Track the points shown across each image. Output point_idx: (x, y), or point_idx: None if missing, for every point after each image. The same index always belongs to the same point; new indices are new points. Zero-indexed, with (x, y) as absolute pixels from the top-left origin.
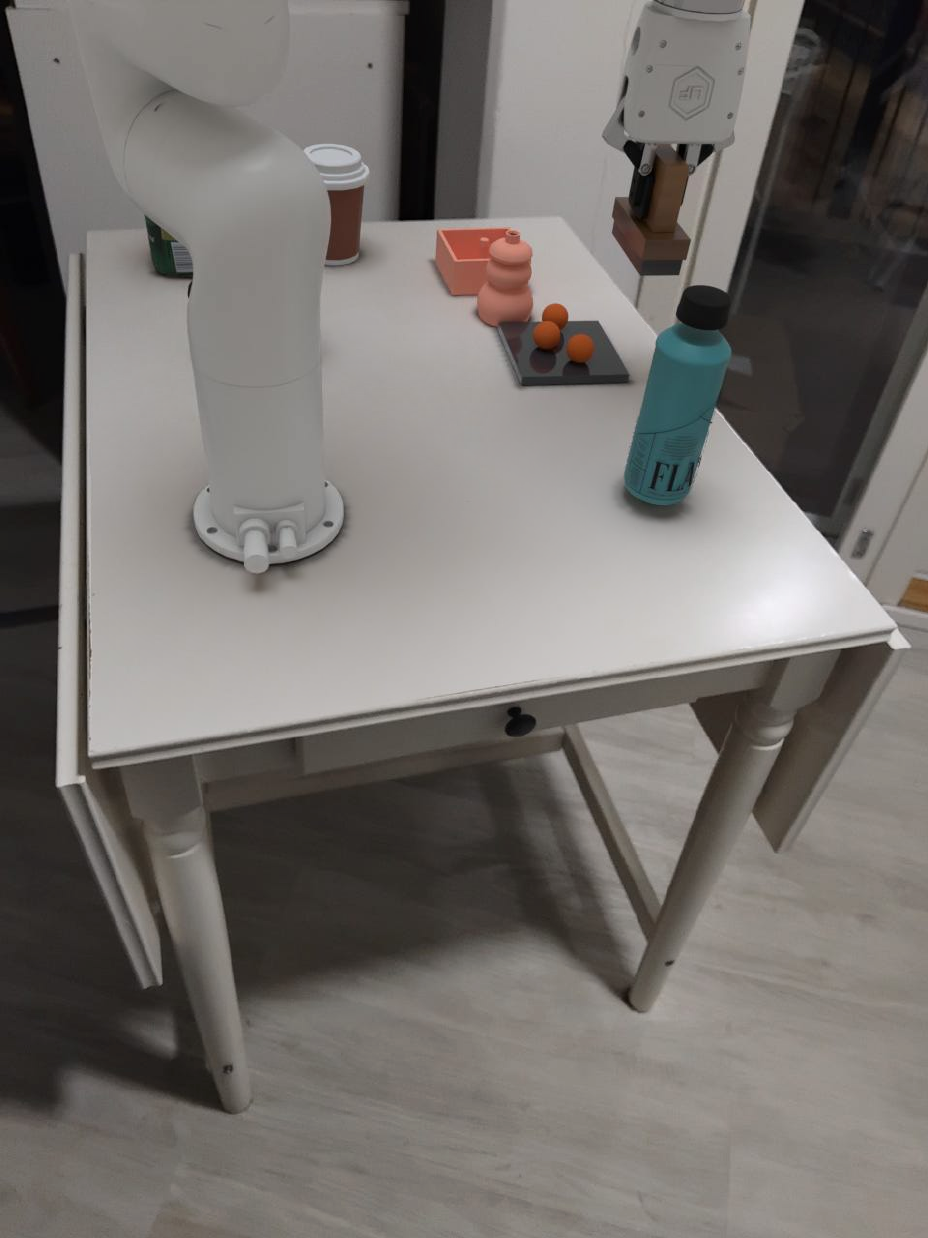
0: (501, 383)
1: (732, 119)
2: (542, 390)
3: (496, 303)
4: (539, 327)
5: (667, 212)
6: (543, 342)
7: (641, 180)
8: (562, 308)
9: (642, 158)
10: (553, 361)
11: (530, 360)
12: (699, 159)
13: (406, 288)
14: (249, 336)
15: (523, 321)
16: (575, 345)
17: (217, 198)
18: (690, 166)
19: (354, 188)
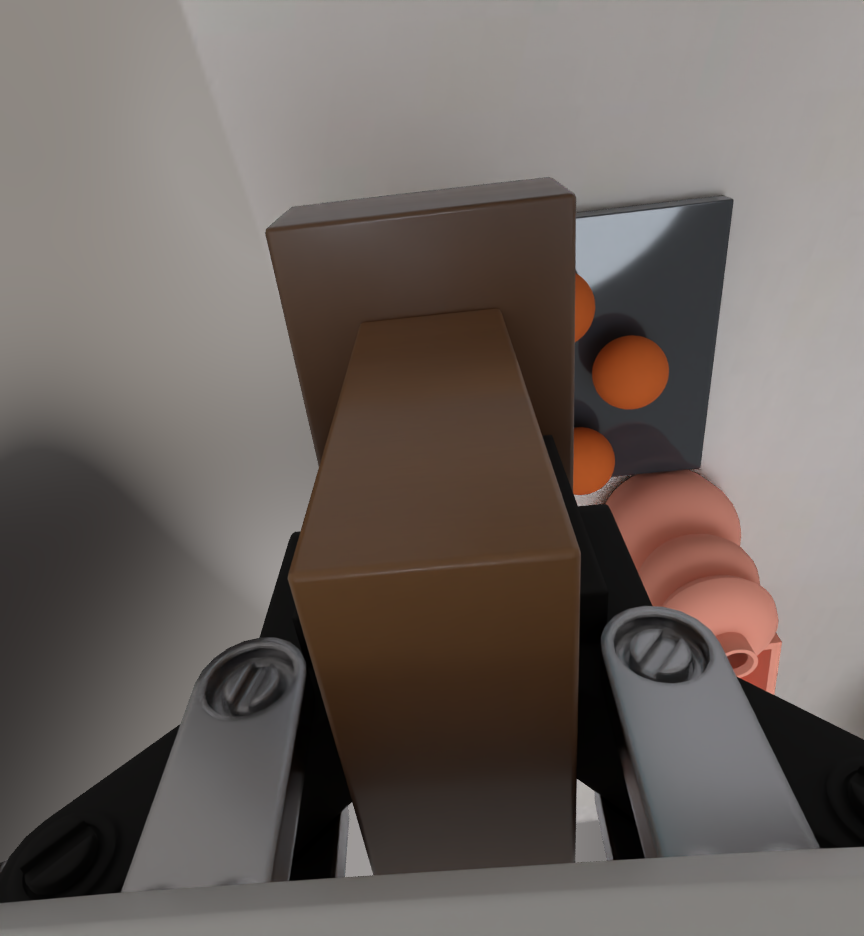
0: (773, 204)
1: None
2: (670, 172)
3: (718, 504)
4: (664, 374)
5: (435, 358)
6: (647, 339)
7: (624, 602)
8: (573, 467)
9: (753, 715)
10: (617, 291)
11: (680, 291)
12: (157, 775)
13: (836, 602)
14: None
15: (628, 484)
16: (583, 291)
17: None
18: (245, 703)
19: None
